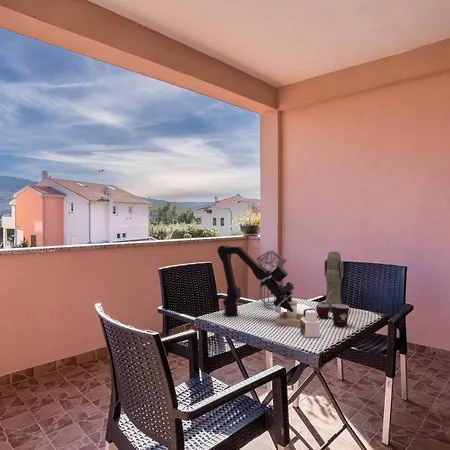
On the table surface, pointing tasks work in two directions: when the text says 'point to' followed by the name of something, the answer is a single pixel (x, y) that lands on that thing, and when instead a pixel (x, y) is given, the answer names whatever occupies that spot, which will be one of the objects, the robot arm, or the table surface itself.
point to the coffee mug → (339, 314)
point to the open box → (288, 320)
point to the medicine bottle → (310, 324)
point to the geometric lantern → (270, 270)
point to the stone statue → (333, 278)
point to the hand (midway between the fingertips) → (294, 310)
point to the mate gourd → (323, 309)
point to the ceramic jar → (293, 314)
